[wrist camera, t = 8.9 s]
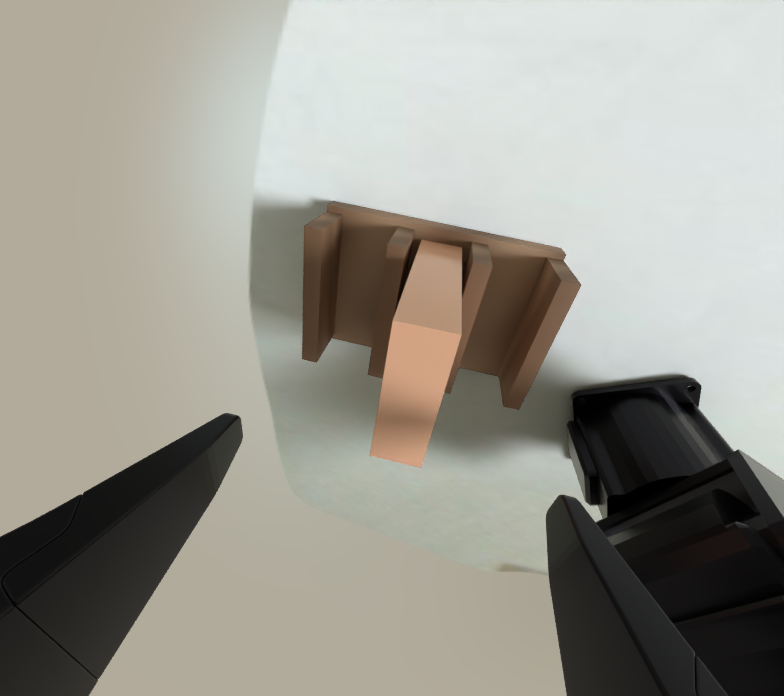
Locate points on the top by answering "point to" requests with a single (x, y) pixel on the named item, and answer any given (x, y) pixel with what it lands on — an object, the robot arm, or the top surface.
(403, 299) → the block
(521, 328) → the rack
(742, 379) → the top surface
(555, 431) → the top surface
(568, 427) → the robot arm
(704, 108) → the top surface
